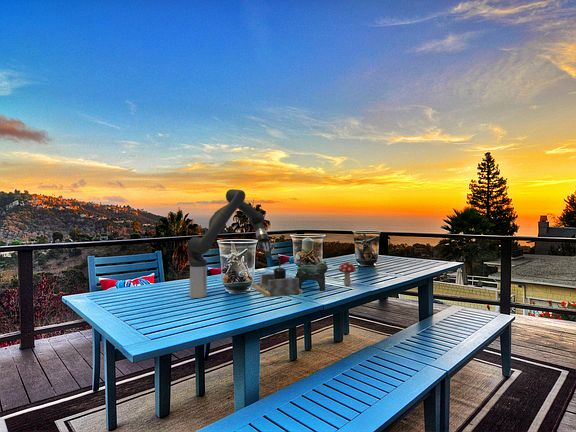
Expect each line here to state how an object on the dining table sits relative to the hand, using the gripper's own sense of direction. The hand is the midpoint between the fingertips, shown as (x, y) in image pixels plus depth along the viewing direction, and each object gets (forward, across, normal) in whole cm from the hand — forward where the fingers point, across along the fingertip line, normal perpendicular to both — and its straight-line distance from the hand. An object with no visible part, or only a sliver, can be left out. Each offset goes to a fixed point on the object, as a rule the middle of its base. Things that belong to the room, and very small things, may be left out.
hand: (268, 256), depth 222 cm
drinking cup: (+28, 0, -1) cm, 28 cm away
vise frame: (+23, 0, +4) cm, 23 cm away
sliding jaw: (+20, 0, +7) cm, 21 cm away
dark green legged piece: (+29, +20, -3) cm, 36 cm away
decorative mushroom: (+28, +47, -1) cm, 55 cm away
